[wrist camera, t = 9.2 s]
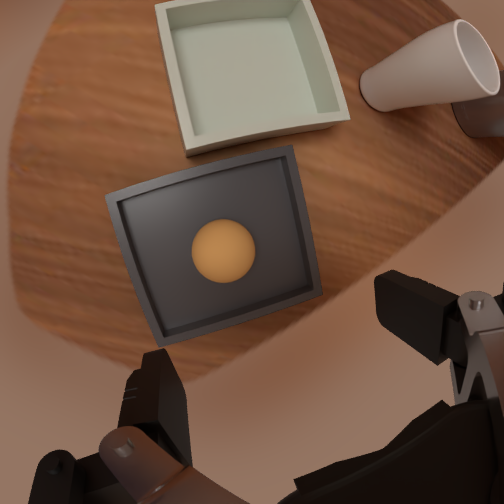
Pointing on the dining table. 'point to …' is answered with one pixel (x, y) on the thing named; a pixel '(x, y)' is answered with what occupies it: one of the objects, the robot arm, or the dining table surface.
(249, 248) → the ball
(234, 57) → the open box
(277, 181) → the tray
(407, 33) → the dining table surface
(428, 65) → the drinking glass
